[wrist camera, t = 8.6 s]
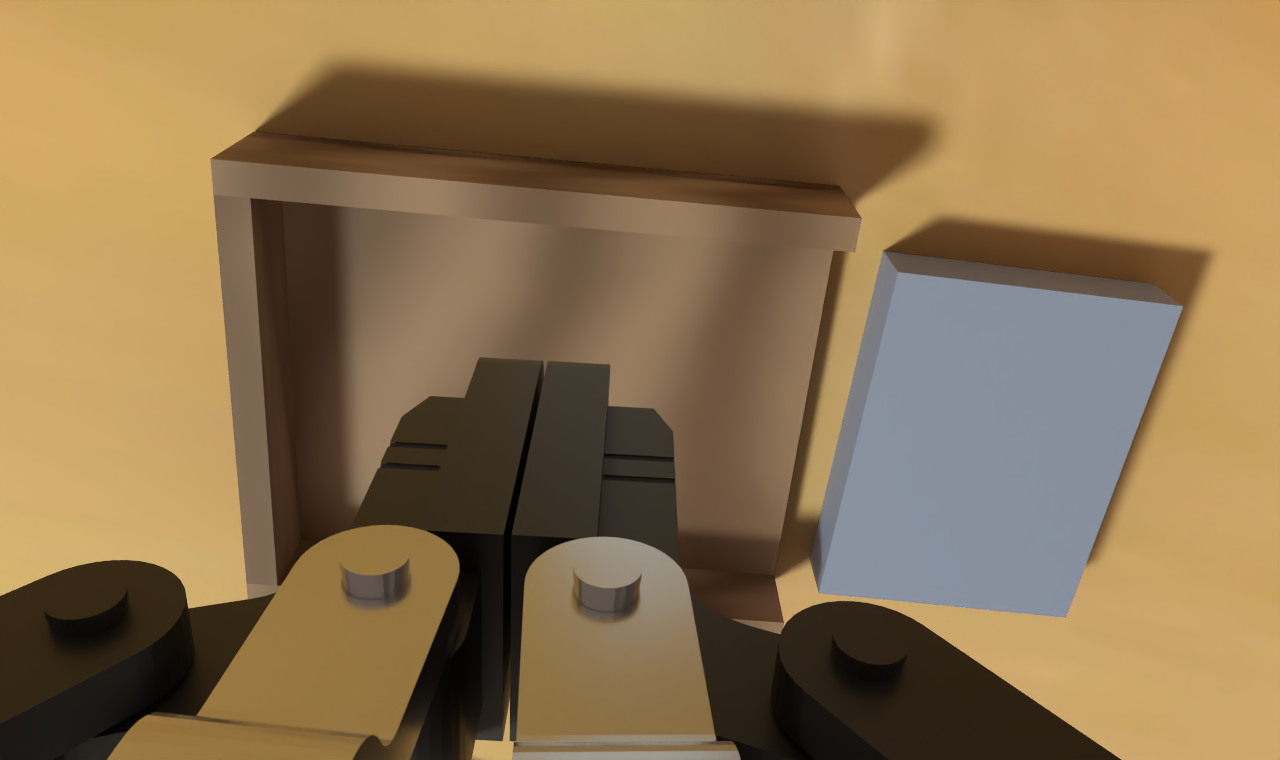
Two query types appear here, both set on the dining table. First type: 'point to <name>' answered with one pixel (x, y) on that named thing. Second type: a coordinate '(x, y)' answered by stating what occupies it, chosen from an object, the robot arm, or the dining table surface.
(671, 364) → the walnut tray
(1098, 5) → the dining table surface
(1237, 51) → the dining table surface
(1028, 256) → the dining table surface
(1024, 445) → the cover plate
